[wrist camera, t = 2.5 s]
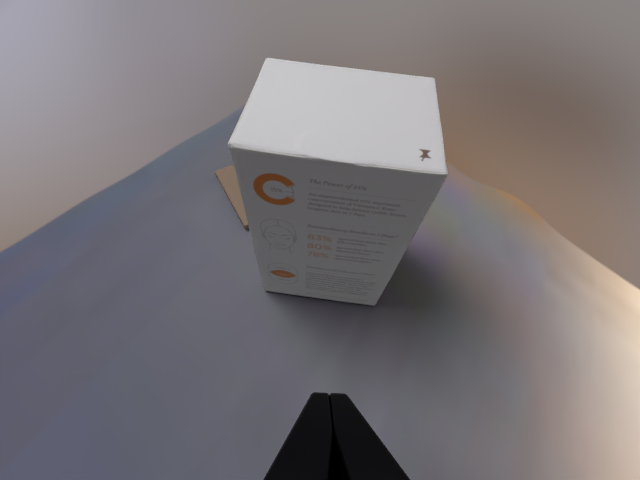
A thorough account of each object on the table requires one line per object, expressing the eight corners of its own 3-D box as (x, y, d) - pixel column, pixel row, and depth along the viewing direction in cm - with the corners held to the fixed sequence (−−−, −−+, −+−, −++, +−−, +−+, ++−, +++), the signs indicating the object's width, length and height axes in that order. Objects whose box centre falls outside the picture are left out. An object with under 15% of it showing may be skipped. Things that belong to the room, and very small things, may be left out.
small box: (378, 233, 25) (439, 75, 14) (376, 308, 22) (454, 176, 11) (278, 219, 25) (263, 52, 14) (261, 291, 22) (223, 145, 11)
